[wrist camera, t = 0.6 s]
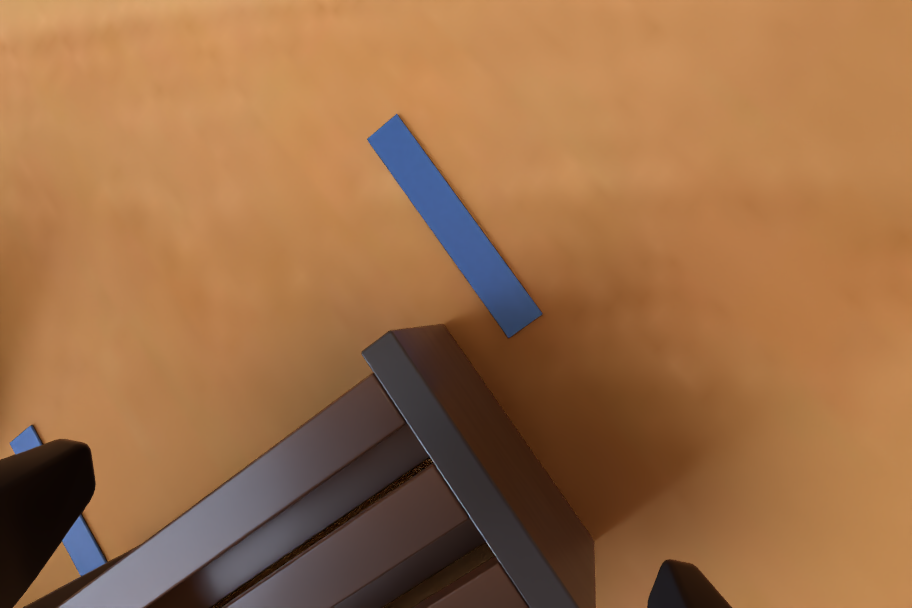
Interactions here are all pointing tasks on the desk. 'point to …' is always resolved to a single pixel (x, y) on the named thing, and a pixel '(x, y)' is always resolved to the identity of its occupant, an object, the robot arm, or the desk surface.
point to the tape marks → (451, 231)
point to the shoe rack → (370, 507)
